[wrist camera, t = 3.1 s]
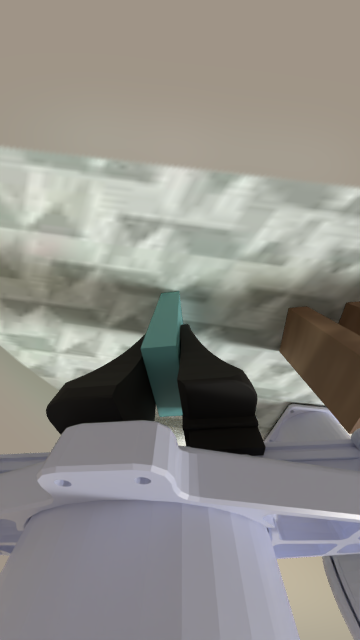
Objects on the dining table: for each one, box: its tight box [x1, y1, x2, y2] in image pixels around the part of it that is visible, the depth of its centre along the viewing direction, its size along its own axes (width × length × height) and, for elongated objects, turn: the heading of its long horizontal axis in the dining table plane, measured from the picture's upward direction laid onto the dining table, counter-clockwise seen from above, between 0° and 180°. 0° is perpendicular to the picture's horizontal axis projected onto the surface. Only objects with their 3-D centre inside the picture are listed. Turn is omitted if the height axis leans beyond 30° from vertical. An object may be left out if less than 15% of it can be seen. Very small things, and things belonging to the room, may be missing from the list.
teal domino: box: [140, 291, 183, 417], centre depth 12 cm, size 2×5×8 cm, turn 6°
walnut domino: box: [280, 306, 360, 434], centre depth 12 cm, size 2×5×8 cm, turn 6°
